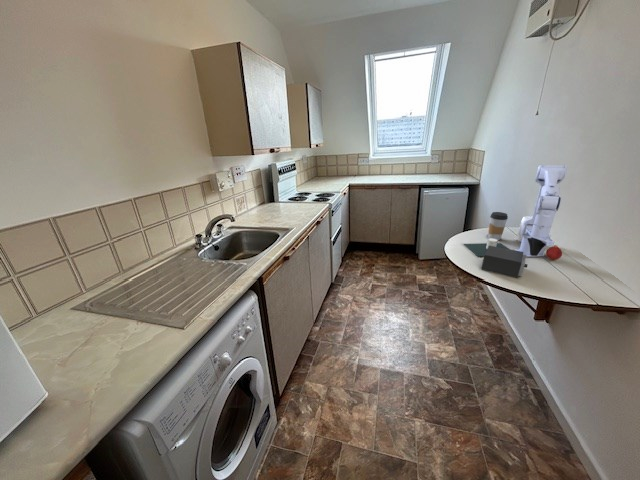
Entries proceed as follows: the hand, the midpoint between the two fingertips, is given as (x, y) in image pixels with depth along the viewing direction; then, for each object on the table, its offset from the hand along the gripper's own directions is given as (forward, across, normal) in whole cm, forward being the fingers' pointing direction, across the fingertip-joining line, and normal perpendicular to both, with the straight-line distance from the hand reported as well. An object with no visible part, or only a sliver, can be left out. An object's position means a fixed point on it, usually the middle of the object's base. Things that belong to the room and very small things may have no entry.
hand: (533, 255), depth 113 cm
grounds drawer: (+8, +4, +7) cm, 12 cm away
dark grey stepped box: (+9, +6, +9) cm, 14 cm away
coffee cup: (+10, +42, -6) cm, 44 cm away
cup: (+10, +36, -20) cm, 42 cm away
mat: (+9, +26, +4) cm, 28 cm away
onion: (+10, +14, -19) cm, 26 cm away
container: (+9, +27, +3) cm, 29 cm away
